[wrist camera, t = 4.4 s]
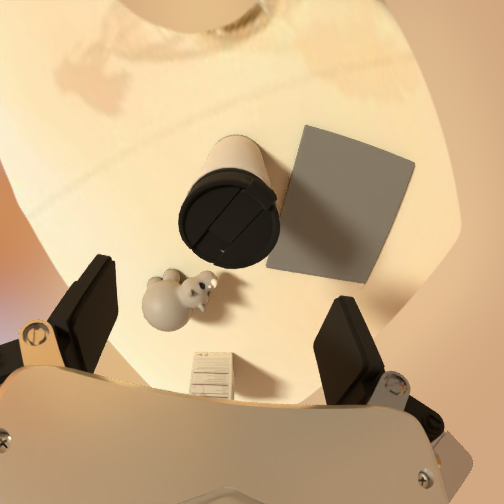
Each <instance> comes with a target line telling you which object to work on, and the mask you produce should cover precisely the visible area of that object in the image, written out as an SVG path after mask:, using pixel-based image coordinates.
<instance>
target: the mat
mask: <svg viewBox="0 0 504 504" xmlns="http://www.w3.org/2000/svg"><path fill="white" fill-rule="evenodd" d="M414 165H415V163H414V162H412V161H409V160H407V159H404V158H402V157H400V156H397V155H395V154H392V153H389V152H387V151H384V150H382V149H379V148H376V147H374V146H371V145H368V144H365V143H362V142H360V141H357V140H354V139H351V138H348V137H345V136H342V135H338V134H335V133H332V132H329V131H325V130H322V129H319V128H315V127H312V126H308V125H305V127H304V131H303V135H302V138H301V142H300V146H299V149H298V153H297V157H296V160H295V164H294V168H293V171H292V175H291V179H290V182H289V186H288V189H287V193H286V197H285V200H284V204H283V207H282V211H281V214H280V218H279V220H280V235H279V238H278V241H277V244H276V245H275V247H274V249H273V250H272V251H271V252H270V254H269V256H268V260H267V263H266V268H272V269H278V270H283V271H289V272H295V273H302V274H308V275H314V276H320V277H326V278H332V279H338V280H345V281H351V282H357V283H363V284H365V282H366V280H367V278H368V276H369V274H370V272H371V270H372V268H373V266H374V264H375V262H376V259H377V257H378V255H379V253H380V251H381V249H382V246H383V244H384V242H385V239H386V237H387V235H388V233H389V230H390V228H391V225H392V223H393V221H394V218H395V216H396V213H397V211H398V208H399V206H400V203H401V201H402V198H403V195H404V193H405V190H406V187H407V185H408V182H409V179H410V176H411V173H412V171H413V168H414Z"/></svg>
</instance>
